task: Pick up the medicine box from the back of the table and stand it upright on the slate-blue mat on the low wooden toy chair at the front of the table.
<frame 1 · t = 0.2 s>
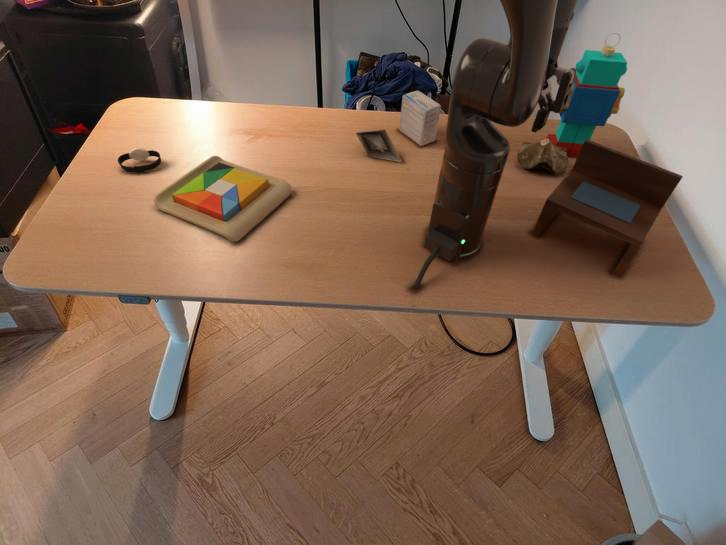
hand: (511, 120, 79), 17 cm above the table, tool pointing down, fingers open, 8 cm apart
wooden puzzle: (225, 200, 88), on the table
medicine box: (416, 136, 106), on the table
watch: (142, 167, 94), on the table
fossilized seashell: (538, 167, 101), on the table
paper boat: (374, 157, 100), on the table
wooden toy chair: (586, 236, 86), on the table
toy robot: (565, 151, 105), on the table
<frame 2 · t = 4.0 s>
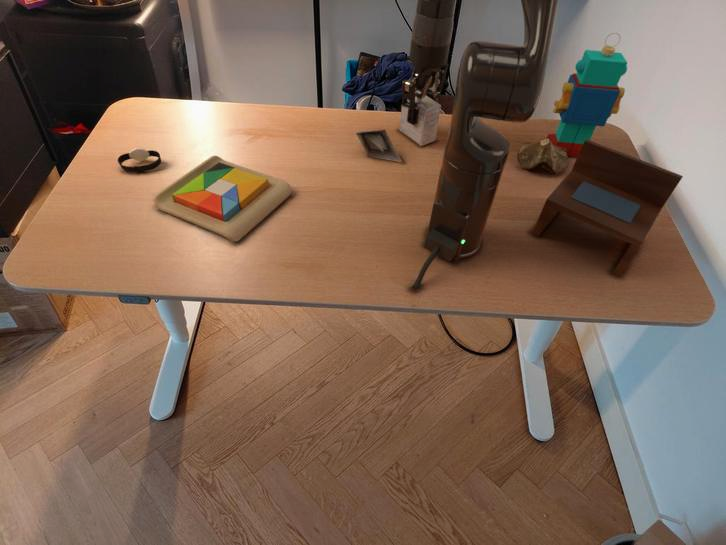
hand: (419, 117, 103), 4 cm above the table, tool pointing down, fingers closed on medicine box, 5 cm apart
medicine box: (416, 136, 106), on the table, touching gripper
everything else where it was.
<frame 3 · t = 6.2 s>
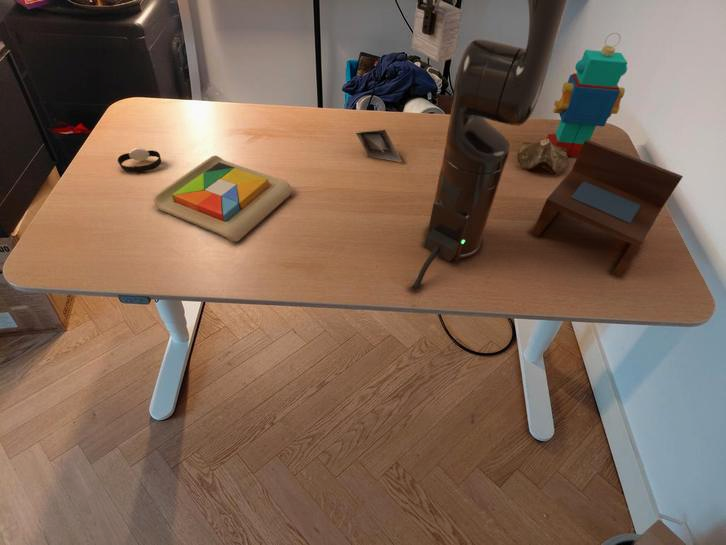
hand: (435, 29, 89), 23 cm above the table, tool pointing down, fingers closed on medicine box, 5 cm apart
medicine box: (431, 55, 92), point 18 cm above the table, touching gripper
everything else where it was.
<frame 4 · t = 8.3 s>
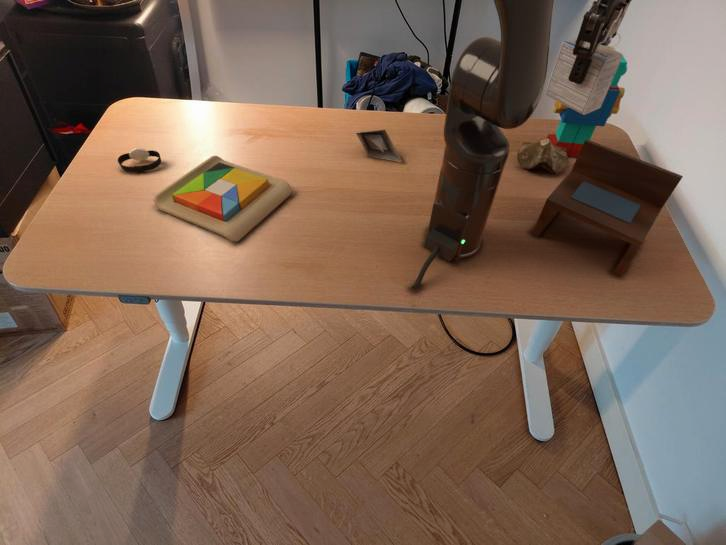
hand: (582, 75, 73), 25 cm above the table, tool pointing down, fingers closed on medicine box, 5 cm apart
medicine box: (571, 103, 76), point 21 cm above the table, touching gripper
everything else where it was.
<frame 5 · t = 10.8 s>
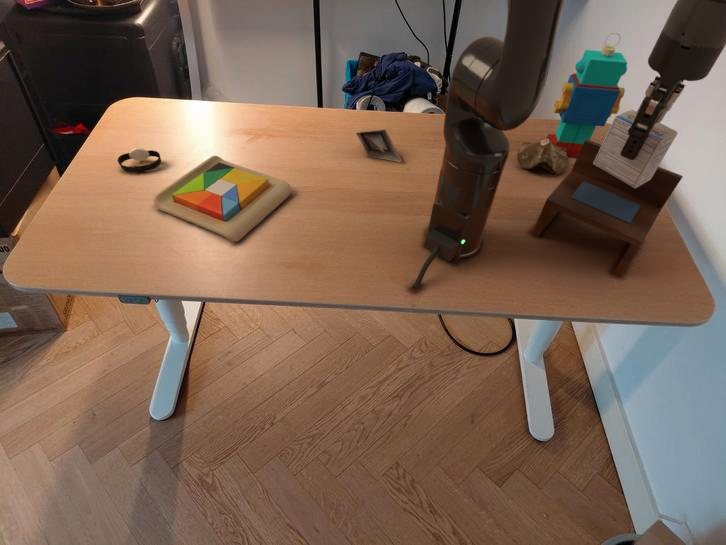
hand: (633, 148, 72), 18 cm above the table, tool pointing down, fingers closed on medicine box, 5 cm apart
medicine box: (619, 173, 76), point 14 cm above the table, touching gripper
everything else where it was.
when the fingers open (13 cm above the table, at t = 12.7 s): medicine box stays where it is, resting on wooden toy chair.
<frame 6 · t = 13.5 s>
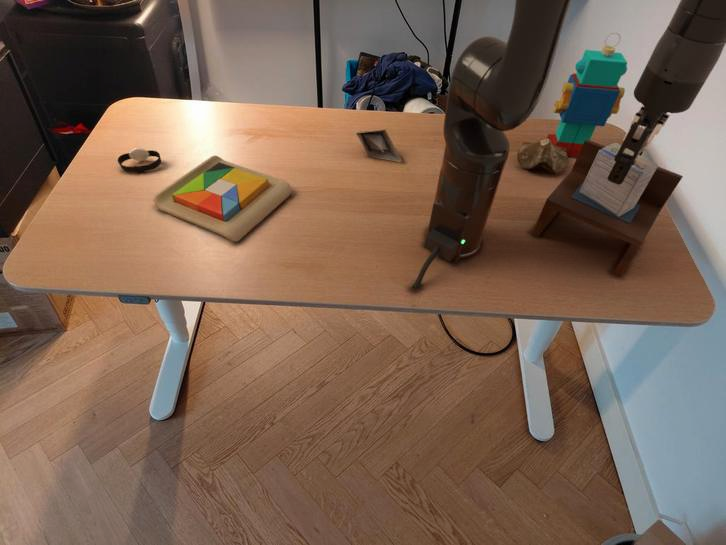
hand: (622, 169, 75), 15 cm above the table, tool pointing down, fingers open, 8 cm apart
medicine box: (605, 201, 80), point 8 cm above the table, touching wooden toy chair
everything else where it was.
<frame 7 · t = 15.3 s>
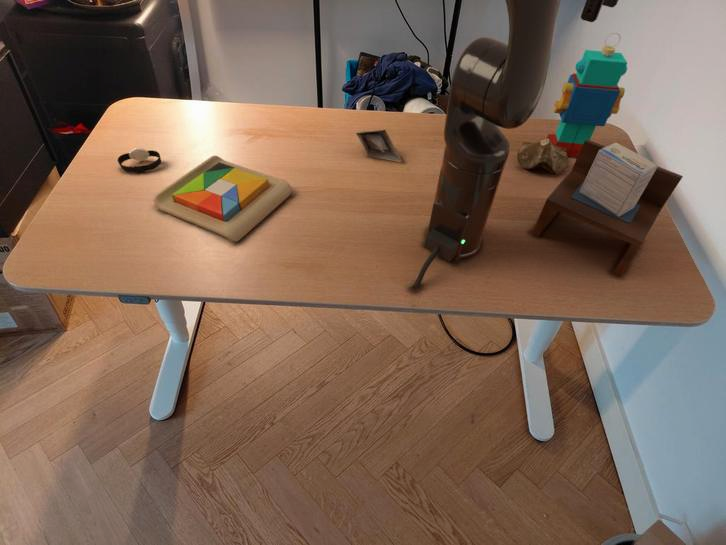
hand: (598, 12, 73), 32 cm above the table, tool pointing down, fingers open, 8 cm apart
nothing on the table moved.
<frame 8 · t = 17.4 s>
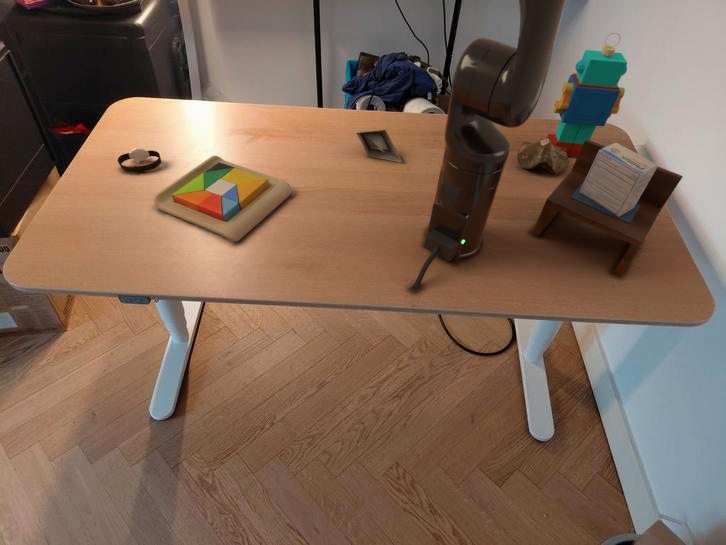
nothing on the table moved.
at the end: medicine box inside the target area on the wooden toy chair (0.1 cm from its centre), point 8.0 cm above the wooden toy chair's base; medicine box tilted 0°; the gripper is holding nothing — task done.
